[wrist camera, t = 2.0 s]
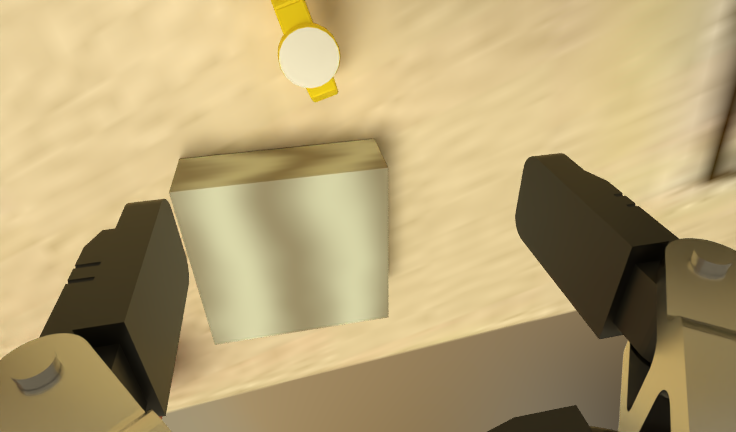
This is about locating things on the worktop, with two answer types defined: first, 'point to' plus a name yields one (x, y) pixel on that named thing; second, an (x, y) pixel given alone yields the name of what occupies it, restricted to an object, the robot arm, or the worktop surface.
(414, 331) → the worktop surface
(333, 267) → the block
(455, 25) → the worktop surface
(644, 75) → the worktop surface
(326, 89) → the watch
